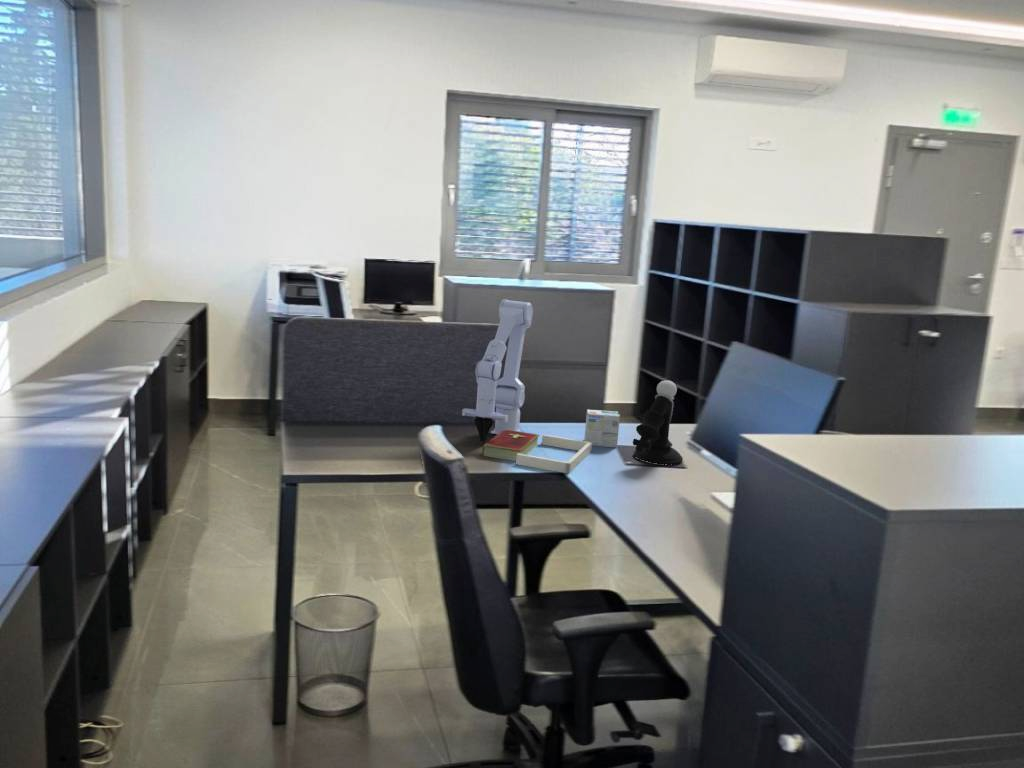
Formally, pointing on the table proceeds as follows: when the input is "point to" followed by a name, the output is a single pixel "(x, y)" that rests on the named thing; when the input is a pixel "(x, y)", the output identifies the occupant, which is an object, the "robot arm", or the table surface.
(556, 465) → the document bay
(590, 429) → the light bulb box
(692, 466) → the table surface
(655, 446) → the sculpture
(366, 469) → the table surface
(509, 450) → the hardcover book
